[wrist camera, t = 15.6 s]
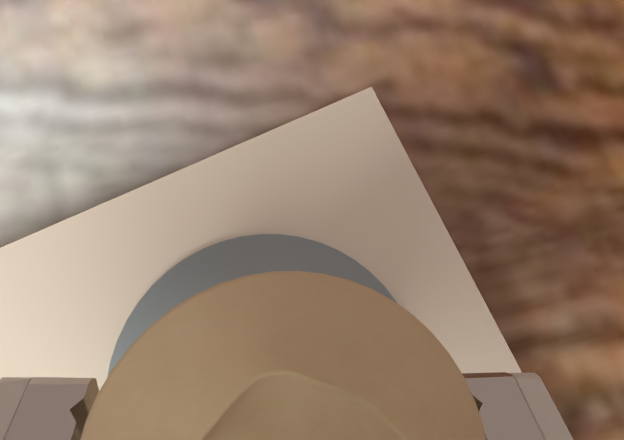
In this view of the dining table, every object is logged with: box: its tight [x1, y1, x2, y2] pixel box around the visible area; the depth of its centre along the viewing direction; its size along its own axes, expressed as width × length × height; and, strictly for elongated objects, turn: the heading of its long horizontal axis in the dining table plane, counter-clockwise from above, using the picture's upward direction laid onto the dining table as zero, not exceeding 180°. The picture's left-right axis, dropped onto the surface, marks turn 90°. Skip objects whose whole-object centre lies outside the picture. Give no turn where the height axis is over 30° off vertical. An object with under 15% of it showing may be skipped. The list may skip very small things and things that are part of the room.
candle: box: [80, 271, 486, 440], centre depth 11 cm, size 6×6×10 cm
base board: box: [0, 87, 522, 391], centre depth 16 cm, size 14×14×2 cm
